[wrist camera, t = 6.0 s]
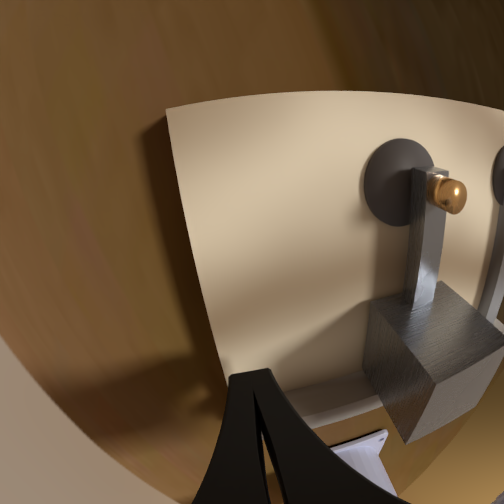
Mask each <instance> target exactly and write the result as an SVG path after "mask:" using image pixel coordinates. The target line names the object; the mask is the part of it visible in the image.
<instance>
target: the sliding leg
mask: <svg viewBox="0 0 504 504" xmlns="http://www.w3.org/2000/svg"><path fill="white" fill-rule="evenodd" d="M466 200H467V190H466V187H465V185H464V184H463V183H462V182H460V181H457V180H455V179H452V178H449V171H448V170H444V169H441V168H438V167H434V166H427V167H412V176H411V211H410V228H409V240H408V251H407V260H406V269H405V277H404V284H403V291H402V293H399V294H395V295H392V296H388V297H385V298H381V299H378V300H374V301H370V311H369V319H368V327H367V335H366V342H365V349H364V356H363V362H362V369H363V371H364V373H365V374H366V376H367V378H368V380H369V381H370V383H371V385H372V386H373V388H374V390H375V392H376V393H377V395H378V397H379V399H380V400H381V402H382V404H383V406H384V407H385V409H386V411H387V413H388V414H389V416H390V418H391V420H392V421H393V423H394V425H395V427H396V429H397V430H398V432H399V434H400V436H401V438H402V439H403V441H404V443H405V445H406V444H409V443H411V442H413V441H415V440H417V439H419V438H421V437H423V436H425V435H427V434H429V433H431V432H433V431H435V430H436V429H438V428H440V427H442V426H444V425H445V424H447V423H449V422H451V421H452V420H454V419H456V418H457V417H459V416H461V415H462V414H464V413H466V412H467V411H469V410H470V409H472V408H474V407H475V406H476V405H477V403H478V401H479V400H480V398H481V397H482V395H483V393H484V392H485V390H486V388H487V386H488V385H489V383H490V381H491V379H492V377H493V376H494V374H495V372H496V370H497V368H498V366H499V364H500V362H501V360H502V358H503V356H504V334H502V333H501V332H500V331H499V330H498V329H497V328H496V327H495V326H494V325H493V324H492V323H491V322H490V321H488V320H487V319H486V318H485V317H484V316H483V315H482V314H481V313H480V312H478V311H477V310H476V309H475V308H474V307H473V306H472V305H470V304H469V303H468V302H467V301H466V300H465V299H463V298H462V297H461V296H460V295H459V294H457V293H456V292H455V291H454V290H453V289H451V288H450V287H449V286H448V285H447V284H445V283H444V282H443V281H442V280H441V281H438V282H437V278H438V273H439V267H440V261H441V254H442V247H443V240H444V232H445V223H446V212H448V213H450V214H452V215H456V214H458V213H460V212H461V211H462V209H463V208H464V206H465V204H466Z"/></svg>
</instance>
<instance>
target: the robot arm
mask: <svg viewBox="0 0 504 504" xmlns="http://www.w3.org/2000/svg"><path fill="white" fill-rule="evenodd" d="M261 432H262V433H261ZM262 435H263V438H264V441H265V444H266V447H267V450H268V453H269V456H270V459H271V462H272V465H273V468H274V471H275V474H276V477H277V479H278V483H279V486H280V489H281V493H282V497H283V501H284V504H410V503H408V502H406V501H404V500H402V499H400V498H398V497H397V494H396V492H395V490H394V488H393V486H392V484H391V482H390V479H389V477H388V475H387V473H386V471H385V469H384V467H383V465H382V462H381V460H380V458H379V456H378V454H379V452H380V450H381V448H382V446H383V444H384V442H385V440H386V438H387V435H388V432H387V430H381V431H378V432H376V433H373V434H371V435H368V436H365V437H362V438H360V439H357V440H354V441H351V442H348V443H345V444H342V445H338V446H335V447H332V448H329V447H328V446H327V445H326V444H325V443H324V442H323V441H322V440H321V439H320V438H319V437H318V436H317V435H316V434H315V433H314V432H313V430H312V429H311V428H310V427H309V426H308V425H307V424H306V422H305V421H304V420H303V419H302V418H301V416H300V415H299V414H298V412H297V411H296V410H295V408H294V407H293V406H292V405H291V403H290V402H289V400H288V399H287V397H286V396H285V394H284V393H283V391H282V390H281V388H280V386H279V385H278V383H277V381H276V379H275V377H274V375H273V373H272V370H271V369H269V368H264V369H258V370H253V371H247V372H242V373H236V374H231V375H230V376H229V377H228V394H227V401H226V407H225V412H224V416H223V421H222V425H221V429H220V433H219V436H218V440H217V443H216V446H215V450H214V453H213V456H212V459H211V461H210V464H209V467H208V469H207V472H206V474H205V477H204V479H203V481H202V483H201V486H200V488H199V490H198V492H197V494H196V496H195V498H194V500H193V502H192V504H271V502H270V498H269V493H268V487H267V480H266V470H265V461H264V452H263V443H262ZM491 504H504V492H503V493H502V494H500V495H499V496H498V497H497V498H496V500H495V501H494V502H492V503H491Z"/></svg>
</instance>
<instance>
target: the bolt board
mask: <svg viewBox="0 0 504 504" xmlns="http://www.w3.org/2000/svg"><path fill="white" fill-rule="evenodd" d="M166 115H167V121H168V127H169V134H170V140H171V146H172V151H173V157H174V163H175V168H176V174H177V179H178V184H179V190H180V195H181V200H182V205H183V210H184V215H185V219H186V224H187V229H188V233H189V238H190V243H191V247H192V252H193V256H194V260H195V265H196V269H197V273H198V277H199V282H200V286H201V290H202V294H203V298H204V302H205V306H206V310H207V314H208V317H209V321H210V325H211V329H212V333H213V336H214V340H215V344H216V347H217V351H218V355H219V358H220V362H221V365H222V369H223V372H224V376H225V379H226V382H227V386H228V377H229V376H230V375H231V374H236V373H242V372H247V371H253V370H258V369H264V368H269V369H271V370H272V373H273V375H274V377H275V379H276V381H277V383H278V385H279V386H280V388H281V390H282V391H283V393H284V394H285V396H286V397H287V399H288V400H289V402H290V403H291V405H292V406H293V407H294V408H295V410H296V411H297V412H298V414H299V415H300V416H301V418H302V419H303V420H304V421H305V422H306V424H307V425H308V426H309V427H310V428H311V429H312V428H316V427H320V426H323V425H327V424H330V423H334V422H337V421H340V420H343V419H347V418H350V417H353V416H356V415H359V414H362V413H364V412H367V411H370V410H373V409H376V408H378V407H381V406H383V404H382V402H381V400H380V399H379V397H378V395H377V393H376V392H375V390H374V388H373V386H372V385H371V383H370V381H369V380H368V378H367V376H366V374H365V373H364V371H363V369H362V362H363V356H364V349H365V342H366V335H367V327H368V319H369V311H370V301H374V300H378V299H381V298H385V297H388V296H392V295H395V294H399V293H402V291H403V284H404V277H405V269H406V260H407V251H408V240H409V228H410V211H411V176H412V167H427V166H434V167H438V168H441V169H444V170H448V171H449V178H452V179H455V180H457V181H460V182H462V183H463V184H464V185H465V187H466V190H467V200H466V204H465V206H464V208H463V209H462V211H461V212H460V213H458V214H456V215H452V214H450V213H448V212H446V223H445V232H444V240H443V247H442V254H441V261H440V267H439V273H438V278H437V282H438V281H441V280H442V281H443V282H444V283H445V284H447V285H448V286H449V287H450V288H451V289H453V290H454V291H455V292H456V293H457V294H459V295H460V296H461V297H462V298H463V299H465V300H466V301H467V302H468V303H469V304H470V305H472V306H473V307H474V308H475V309H476V310H477V311H478V312H480V313H481V314H482V315H483V316H484V317H485V318H486V319H487V320H488V321H490V322H491V323H492V324H493V325H494V326H495V327H496V328H497V329H498V330H499V331H500V332H501V333H502V334H504V325H503V324H502V323H501V322H500V321H499V320H498V319H496V316H497V313H498V310H499V307H500V304H501V301H502V298H503V295H504V111H502V110H498V109H494V108H489V107H485V106H480V105H475V104H471V103H465V102H460V101H454V100H448V99H441V98H434V97H427V96H418V95H409V94H398V93H385V92H365V91H307V92H287V93H273V94H261V95H251V96H242V97H234V98H227V99H219V100H213V101H207V102H201V103H195V104H189V105H184V106H179V107H174V108H169V109H166ZM261 433H262V432H261ZM262 440H264V438H263V435H262Z"/></svg>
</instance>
